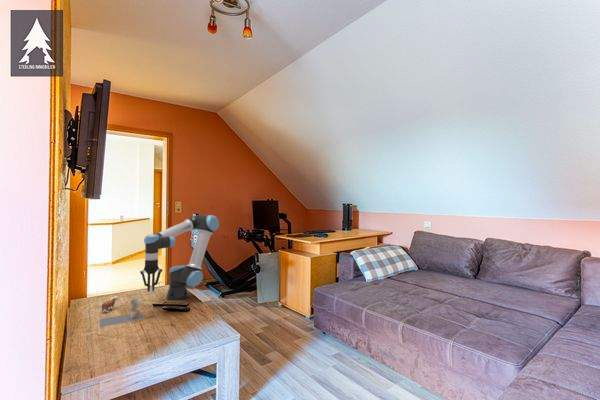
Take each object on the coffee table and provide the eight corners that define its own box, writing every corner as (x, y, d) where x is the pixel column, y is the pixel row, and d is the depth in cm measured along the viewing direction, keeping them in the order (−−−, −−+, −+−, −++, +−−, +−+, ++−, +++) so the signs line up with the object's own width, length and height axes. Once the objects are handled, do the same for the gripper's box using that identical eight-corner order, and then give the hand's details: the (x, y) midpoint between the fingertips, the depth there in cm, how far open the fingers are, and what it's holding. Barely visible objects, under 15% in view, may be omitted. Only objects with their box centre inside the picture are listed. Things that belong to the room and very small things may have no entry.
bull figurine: (120, 307, 202) (120, 295, 202) (105, 315, 189) (105, 302, 189) (114, 306, 203) (114, 294, 202) (98, 314, 189) (99, 301, 189)
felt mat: (141, 312, 193) (141, 312, 193) (142, 319, 183) (143, 319, 183) (100, 319, 182) (100, 319, 182) (99, 327, 171) (99, 327, 171)
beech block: (138, 314, 189) (139, 298, 189) (139, 317, 185) (139, 300, 185) (129, 316, 187) (130, 299, 186) (130, 319, 182) (130, 302, 182)
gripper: (161, 257, 197) (160, 293, 197) (139, 259, 190) (138, 296, 190) (163, 259, 191) (162, 296, 191) (140, 261, 184) (139, 299, 184)
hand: (150, 296), depth 190 cm, fingers closed
